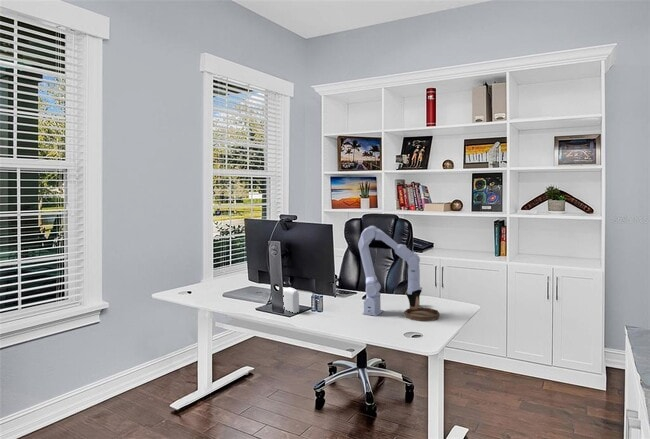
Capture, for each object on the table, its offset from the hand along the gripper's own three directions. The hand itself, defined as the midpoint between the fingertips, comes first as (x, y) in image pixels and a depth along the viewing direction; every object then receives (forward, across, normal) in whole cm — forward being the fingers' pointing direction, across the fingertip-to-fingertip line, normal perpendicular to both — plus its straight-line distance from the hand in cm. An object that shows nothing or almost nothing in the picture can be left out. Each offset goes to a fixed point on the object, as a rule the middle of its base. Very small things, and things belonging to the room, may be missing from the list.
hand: (413, 305), depth 229 cm
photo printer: (+5, -19, +60) cm, 63 cm away
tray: (+5, 0, -4) cm, 6 cm away
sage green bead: (+5, +16, +4) cm, 17 cm away
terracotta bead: (+2, 0, 0) cm, 2 cm away
